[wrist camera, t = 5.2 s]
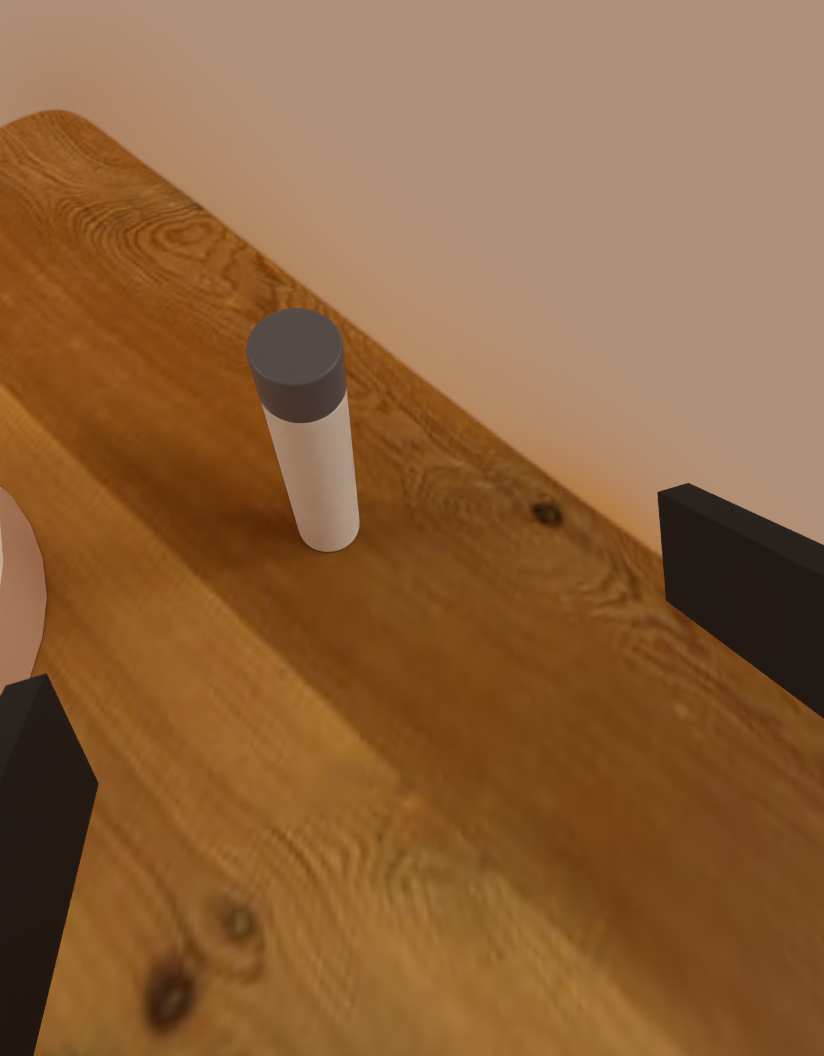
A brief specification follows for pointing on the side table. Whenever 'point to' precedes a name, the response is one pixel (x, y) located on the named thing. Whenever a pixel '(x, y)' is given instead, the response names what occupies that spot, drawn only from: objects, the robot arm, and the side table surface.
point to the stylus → (308, 421)
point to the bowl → (19, 594)
